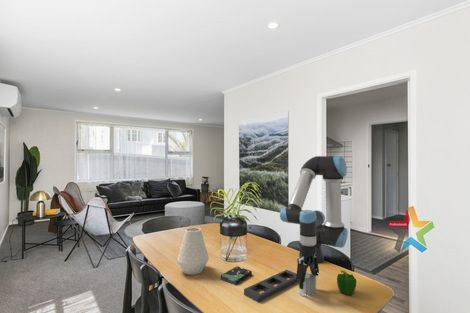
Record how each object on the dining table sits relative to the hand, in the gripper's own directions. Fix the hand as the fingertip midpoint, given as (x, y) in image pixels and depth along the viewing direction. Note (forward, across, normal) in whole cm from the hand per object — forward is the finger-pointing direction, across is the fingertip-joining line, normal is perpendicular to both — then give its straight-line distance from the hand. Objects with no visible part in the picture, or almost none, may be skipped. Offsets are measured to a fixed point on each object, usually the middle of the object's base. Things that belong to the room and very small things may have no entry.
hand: (307, 291), depth 122 cm
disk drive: (+1, +15, -34) cm, 37 cm away
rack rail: (0, +8, -14) cm, 16 cm away
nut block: (0, 0, 0) cm, 0 cm away
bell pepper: (0, -14, +12) cm, 18 cm away
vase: (0, +28, -56) cm, 63 cm away
